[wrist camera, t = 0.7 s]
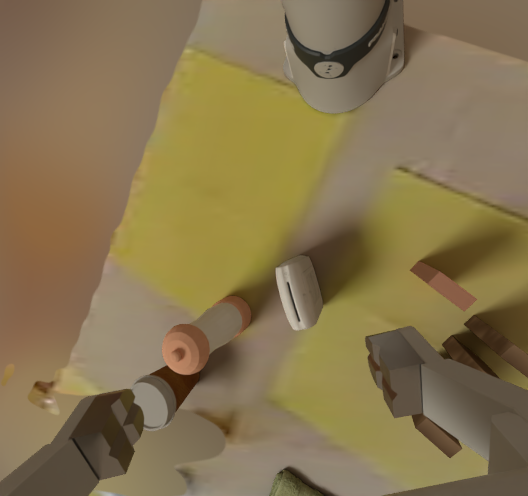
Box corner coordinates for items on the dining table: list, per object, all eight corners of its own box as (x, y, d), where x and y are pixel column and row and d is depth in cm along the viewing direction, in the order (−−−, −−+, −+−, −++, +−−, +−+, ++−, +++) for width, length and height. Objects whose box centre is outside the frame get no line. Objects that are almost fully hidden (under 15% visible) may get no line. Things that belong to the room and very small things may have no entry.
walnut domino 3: (473, 314, 42) (514, 344, 31) (504, 337, 41) (556, 376, 30) (463, 324, 42) (500, 356, 32) (493, 347, 41) (541, 387, 31)
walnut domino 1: (409, 373, 45) (426, 417, 35) (436, 396, 44) (462, 448, 34) (401, 381, 46) (415, 427, 35) (427, 404, 45) (449, 458, 34)
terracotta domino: (418, 260, 44) (439, 271, 33) (446, 281, 43) (477, 299, 32) (409, 270, 44) (427, 283, 34) (437, 291, 43) (464, 311, 33)
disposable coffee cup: (215, 378, 56) (180, 417, 45) (185, 401, 59) (145, 443, 48) (187, 341, 58) (147, 369, 46) (160, 364, 60) (115, 397, 49)
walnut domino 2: (451, 335, 43) (483, 370, 32) (480, 358, 42) (522, 402, 31) (441, 344, 43) (469, 381, 33) (470, 367, 42) (508, 412, 32)
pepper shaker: (236, 339, 54) (178, 396, 36) (210, 314, 56) (141, 356, 38) (258, 313, 52) (208, 359, 34) (231, 287, 54) (169, 318, 36)
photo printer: (287, 257, 50) (267, 267, 38) (310, 251, 49) (296, 259, 37) (303, 312, 50) (287, 339, 38) (326, 308, 49) (318, 333, 37)
